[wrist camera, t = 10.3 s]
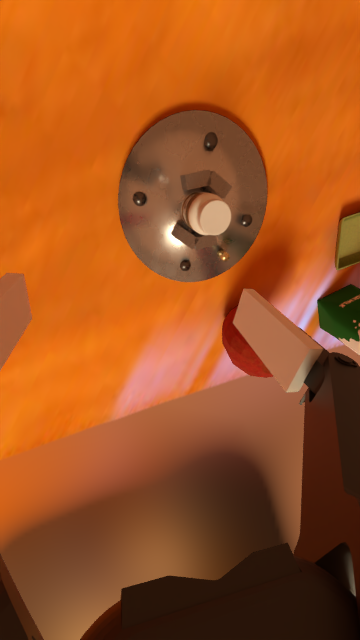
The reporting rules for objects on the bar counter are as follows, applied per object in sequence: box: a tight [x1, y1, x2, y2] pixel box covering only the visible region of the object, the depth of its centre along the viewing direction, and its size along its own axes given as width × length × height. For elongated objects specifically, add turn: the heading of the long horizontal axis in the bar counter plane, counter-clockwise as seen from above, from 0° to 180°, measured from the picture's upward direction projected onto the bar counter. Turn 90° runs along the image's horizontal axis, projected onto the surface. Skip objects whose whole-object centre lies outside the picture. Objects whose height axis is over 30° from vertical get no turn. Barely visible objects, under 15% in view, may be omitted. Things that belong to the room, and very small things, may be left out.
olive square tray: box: [335, 212, 360, 270], centre depth 38 cm, size 9×9×2 cm
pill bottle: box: [181, 192, 231, 235], centre depth 27 cm, size 4×4×8 cm
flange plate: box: [118, 110, 267, 282], centre depth 30 cm, size 20×20×4 cm
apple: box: [222, 306, 273, 378], centre depth 36 cm, size 10×10×14 cm
